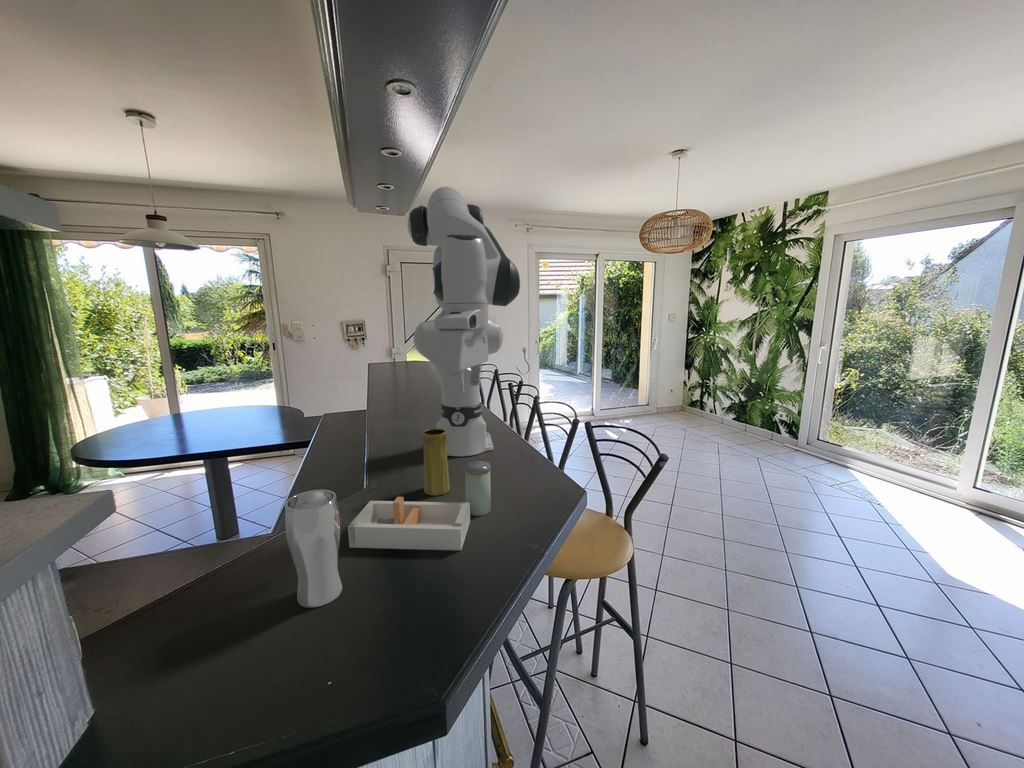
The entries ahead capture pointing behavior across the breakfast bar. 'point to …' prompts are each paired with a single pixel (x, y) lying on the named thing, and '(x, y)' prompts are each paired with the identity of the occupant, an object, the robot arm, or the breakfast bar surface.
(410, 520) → the pusher
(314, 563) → the beer glass
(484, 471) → the jar
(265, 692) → the breakfast bar surface
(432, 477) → the vase
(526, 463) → the breakfast bar surface
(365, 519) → the white tray
